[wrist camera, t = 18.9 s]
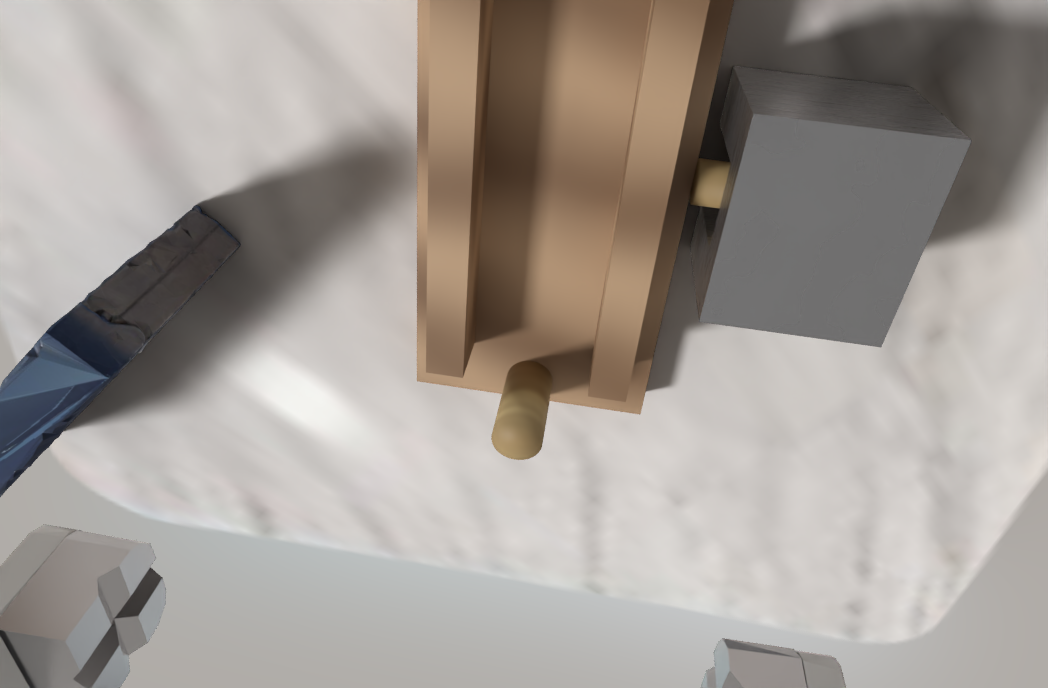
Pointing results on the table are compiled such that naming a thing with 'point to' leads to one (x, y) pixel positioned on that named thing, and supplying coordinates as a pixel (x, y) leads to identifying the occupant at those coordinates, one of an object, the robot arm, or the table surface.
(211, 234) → the vhs cassette tape
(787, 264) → the block
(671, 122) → the cradle
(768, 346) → the table surface
